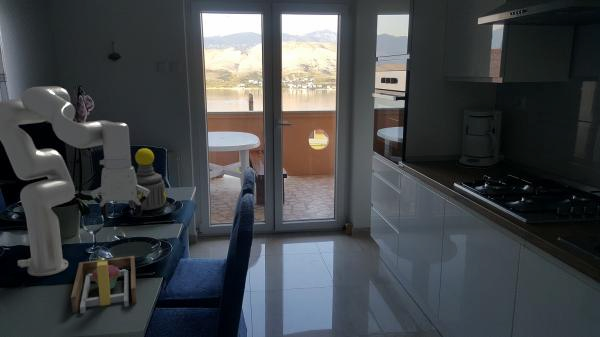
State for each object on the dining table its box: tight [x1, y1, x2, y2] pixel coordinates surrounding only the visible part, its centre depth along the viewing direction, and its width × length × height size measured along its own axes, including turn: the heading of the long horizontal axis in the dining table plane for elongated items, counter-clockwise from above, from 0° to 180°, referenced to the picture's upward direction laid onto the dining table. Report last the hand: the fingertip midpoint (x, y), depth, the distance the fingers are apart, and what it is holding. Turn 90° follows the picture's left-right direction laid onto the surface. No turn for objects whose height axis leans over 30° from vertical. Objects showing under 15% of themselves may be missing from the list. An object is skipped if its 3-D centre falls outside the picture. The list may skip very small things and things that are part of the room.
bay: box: [70, 255, 137, 314], centre depth 147 cm, size 18×25×5 cm
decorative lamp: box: [127, 147, 167, 211], centre depth 232 cm, size 19×19×30 cm
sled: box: [79, 261, 130, 314], centre depth 143 cm, size 13×22×13 cm, turn 20°
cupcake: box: [92, 254, 120, 290], centre depth 147 cm, size 9×8×12 cm
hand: (122, 216), depth 142 cm, fingers open, 9 cm apart
